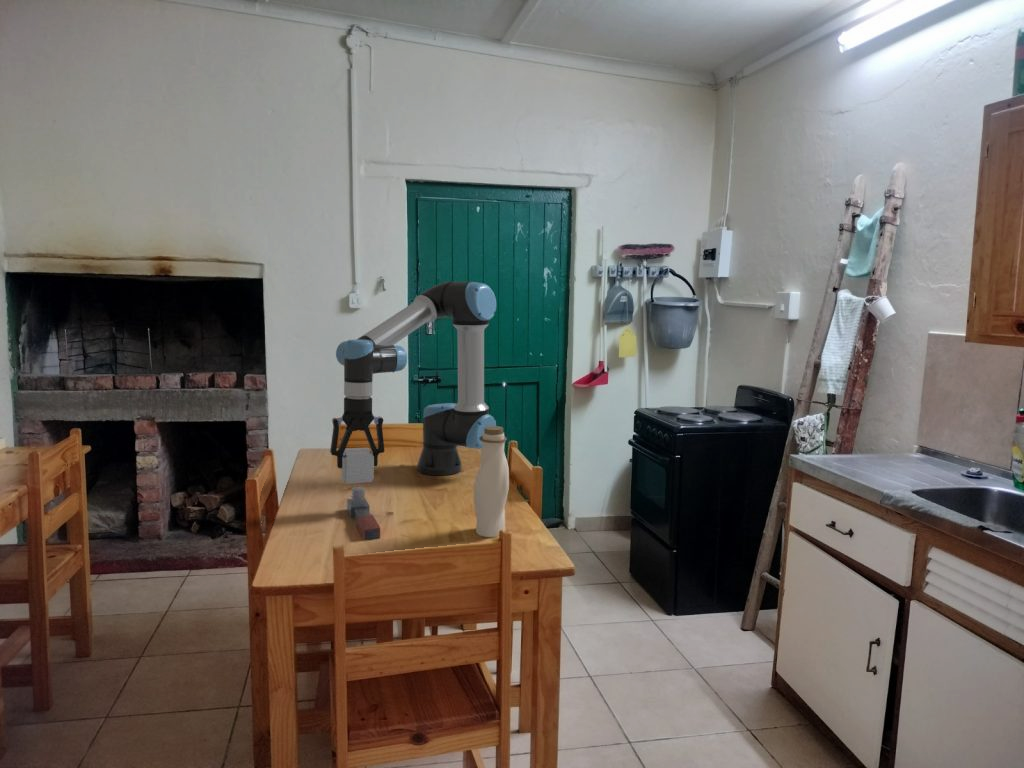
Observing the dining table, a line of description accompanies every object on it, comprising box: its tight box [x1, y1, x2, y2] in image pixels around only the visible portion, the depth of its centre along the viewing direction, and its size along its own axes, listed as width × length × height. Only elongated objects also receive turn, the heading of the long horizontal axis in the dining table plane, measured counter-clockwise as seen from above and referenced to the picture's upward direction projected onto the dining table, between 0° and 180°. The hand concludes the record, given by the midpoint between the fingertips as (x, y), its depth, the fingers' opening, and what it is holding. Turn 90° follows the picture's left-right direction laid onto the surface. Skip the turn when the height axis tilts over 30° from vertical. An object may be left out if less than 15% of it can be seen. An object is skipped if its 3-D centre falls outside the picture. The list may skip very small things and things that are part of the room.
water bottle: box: [473, 425, 510, 538], centre depth 177 cm, size 10×9×28 cm
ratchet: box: [346, 486, 381, 541], centre depth 181 cm, size 5×24×7 cm, turn 22°
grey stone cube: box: [343, 447, 373, 484], centre depth 187 cm, size 7×7×8 cm
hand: (357, 478), depth 188 cm, fingers closed on grey stone cube, 7 cm apart
